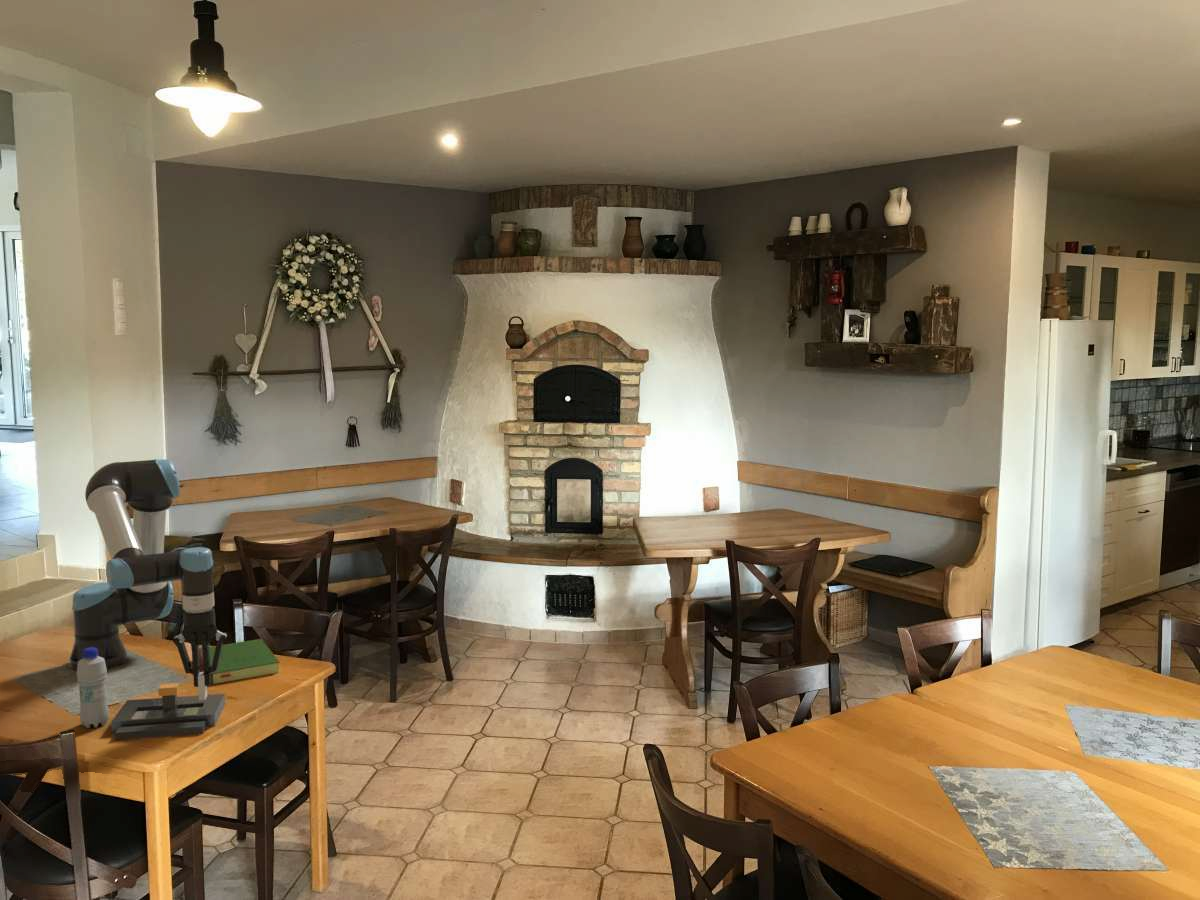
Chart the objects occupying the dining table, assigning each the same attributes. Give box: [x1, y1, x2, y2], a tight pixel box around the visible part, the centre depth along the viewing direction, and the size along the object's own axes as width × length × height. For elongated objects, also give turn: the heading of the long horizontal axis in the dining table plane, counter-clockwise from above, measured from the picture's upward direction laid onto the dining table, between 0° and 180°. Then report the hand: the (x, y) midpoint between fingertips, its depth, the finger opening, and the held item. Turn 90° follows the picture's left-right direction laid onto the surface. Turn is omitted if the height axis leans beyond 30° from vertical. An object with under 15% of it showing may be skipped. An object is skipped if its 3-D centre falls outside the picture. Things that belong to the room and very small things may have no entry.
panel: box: [110, 693, 226, 734], centre depth 241 cm, size 14×24×3 cm, turn 102°
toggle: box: [157, 682, 181, 710], centre depth 240 cm, size 3×4×7 cm
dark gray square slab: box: [114, 721, 207, 741], centre depth 240 cm, size 21×20×2 cm
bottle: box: [76, 647, 110, 729], centre depth 236 cm, size 7×7×20 cm
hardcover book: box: [199, 638, 280, 686], centre depth 279 cm, size 25×19×4 cm
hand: (203, 698), depth 242 cm, fingers closed
